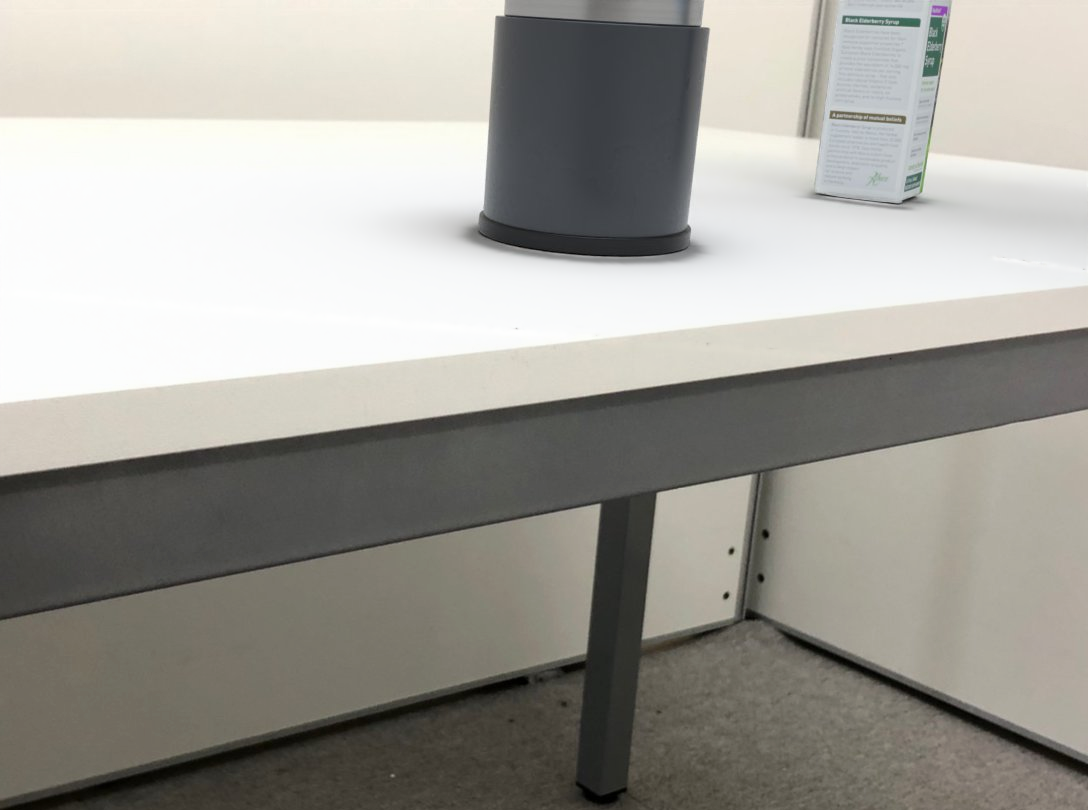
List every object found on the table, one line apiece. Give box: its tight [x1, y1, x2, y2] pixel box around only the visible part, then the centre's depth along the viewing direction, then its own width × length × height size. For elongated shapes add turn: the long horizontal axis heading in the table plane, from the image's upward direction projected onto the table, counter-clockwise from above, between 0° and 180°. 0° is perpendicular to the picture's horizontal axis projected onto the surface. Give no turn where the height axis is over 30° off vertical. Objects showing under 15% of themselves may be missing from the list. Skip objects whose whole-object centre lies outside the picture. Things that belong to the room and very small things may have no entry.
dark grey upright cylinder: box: [477, 0, 711, 257], centre depth 63 cm, size 10×10×12 cm
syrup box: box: [813, 0, 953, 204], centre depth 83 cm, size 6×6×14 cm
